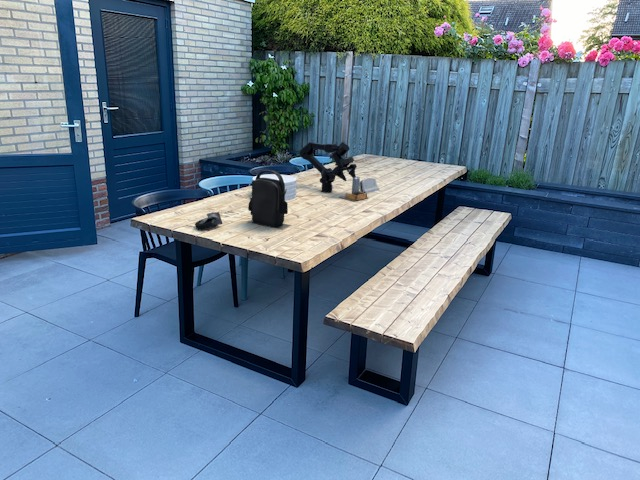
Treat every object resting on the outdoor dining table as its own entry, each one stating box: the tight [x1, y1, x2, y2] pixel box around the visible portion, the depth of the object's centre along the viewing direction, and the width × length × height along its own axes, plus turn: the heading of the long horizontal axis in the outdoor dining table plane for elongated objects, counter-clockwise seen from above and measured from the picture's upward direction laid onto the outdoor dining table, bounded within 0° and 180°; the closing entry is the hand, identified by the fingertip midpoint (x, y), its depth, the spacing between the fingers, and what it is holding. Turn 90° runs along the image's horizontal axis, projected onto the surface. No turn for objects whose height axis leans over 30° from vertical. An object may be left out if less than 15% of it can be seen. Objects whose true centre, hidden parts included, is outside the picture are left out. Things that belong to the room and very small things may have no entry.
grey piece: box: [351, 176, 361, 195], centre depth 307 cm, size 5×5×13 cm
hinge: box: [359, 177, 380, 194], centre depth 331 cm, size 17×5×10 cm, turn 140°
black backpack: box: [246, 169, 293, 230], centre depth 245 cm, size 23×9×28 cm, turn 60°
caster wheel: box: [194, 211, 223, 231], centre depth 238 cm, size 7×11×10 cm
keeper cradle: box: [338, 191, 369, 202], centre depth 310 cm, size 13×14×4 cm
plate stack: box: [251, 173, 298, 202], centre depth 307 cm, size 28×28×12 cm
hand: (350, 180), depth 309 cm, fingers open, 9 cm apart
